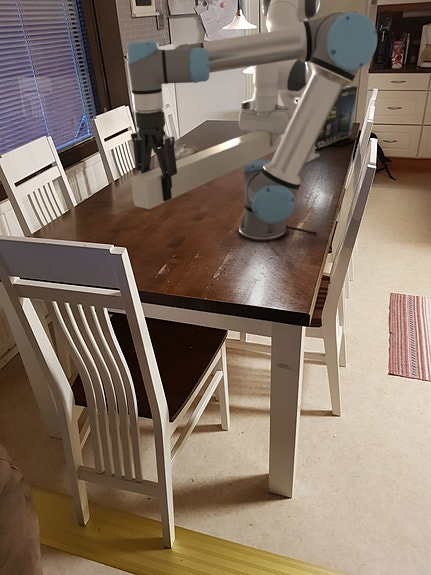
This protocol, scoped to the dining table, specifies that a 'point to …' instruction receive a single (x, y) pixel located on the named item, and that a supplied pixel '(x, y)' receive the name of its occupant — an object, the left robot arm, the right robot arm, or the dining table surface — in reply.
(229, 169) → the beam
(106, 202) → the dining table surface
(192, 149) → the fossil
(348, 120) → the router box
